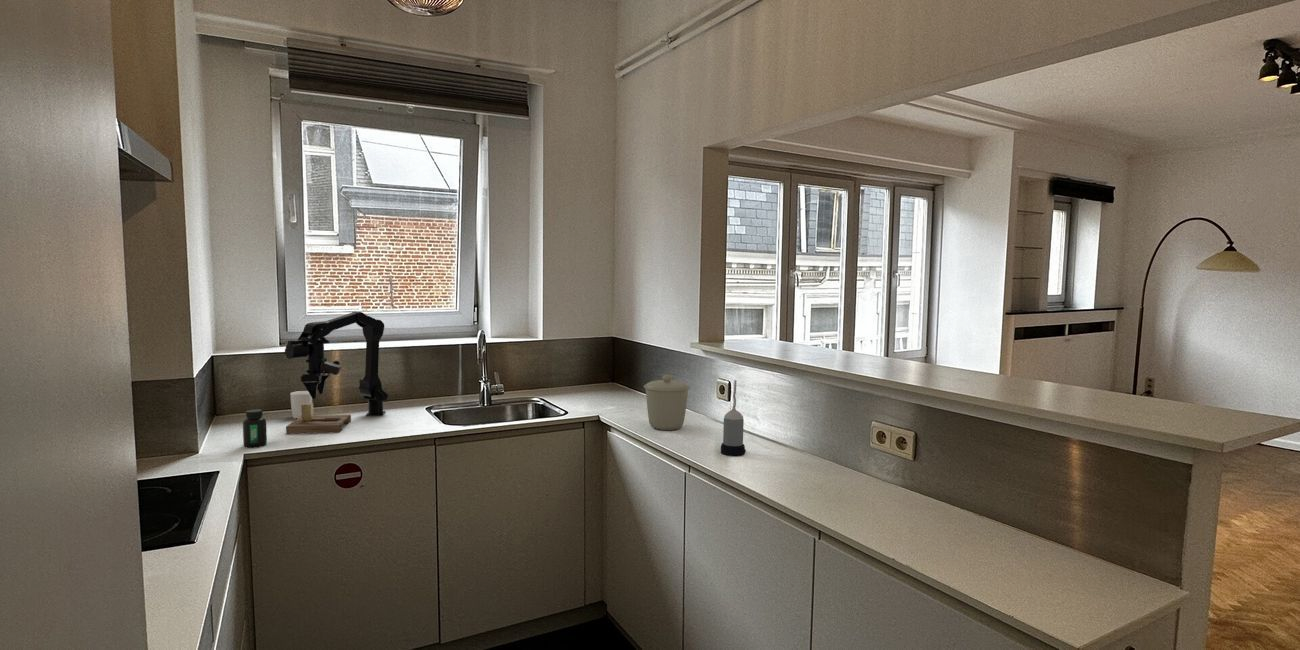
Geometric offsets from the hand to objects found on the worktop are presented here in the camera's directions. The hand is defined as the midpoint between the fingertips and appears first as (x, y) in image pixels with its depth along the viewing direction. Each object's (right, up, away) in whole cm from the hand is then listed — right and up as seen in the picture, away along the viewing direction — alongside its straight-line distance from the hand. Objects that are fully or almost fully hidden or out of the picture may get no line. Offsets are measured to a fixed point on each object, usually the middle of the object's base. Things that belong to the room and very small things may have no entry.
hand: (317, 396), depth 250 cm
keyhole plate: (+2, -12, -1) cm, 12 cm away
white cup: (-14, -10, +16) cm, 24 cm away
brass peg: (-2, -12, -2) cm, 12 cm away
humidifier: (+155, -17, -28) cm, 159 cm away
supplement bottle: (-7, -14, -28) cm, 32 cm away
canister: (+134, -13, +7) cm, 135 cm away
